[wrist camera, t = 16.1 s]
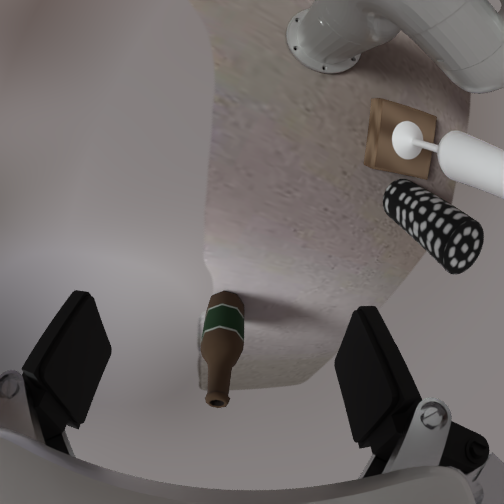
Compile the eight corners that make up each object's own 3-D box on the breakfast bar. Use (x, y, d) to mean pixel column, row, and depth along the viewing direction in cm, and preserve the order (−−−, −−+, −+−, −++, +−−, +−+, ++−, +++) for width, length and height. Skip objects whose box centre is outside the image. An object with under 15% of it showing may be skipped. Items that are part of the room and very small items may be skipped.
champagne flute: (411, 167, 39) (514, 223, 18) (385, 143, 38) (494, 187, 17) (429, 137, 37) (537, 176, 15) (403, 112, 35) (518, 135, 14)
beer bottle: (252, 303, 57) (254, 403, 36) (228, 323, 60) (222, 419, 38) (222, 283, 54) (211, 384, 33) (200, 305, 57) (181, 402, 36)
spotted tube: (374, 204, 47) (433, 257, 29) (400, 170, 44) (469, 208, 26) (401, 227, 49) (457, 283, 31) (424, 195, 46) (490, 240, 28)
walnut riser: (371, 98, 38) (381, 98, 34) (425, 115, 38) (438, 116, 35) (363, 164, 43) (372, 169, 40) (417, 174, 44) (428, 180, 40)
